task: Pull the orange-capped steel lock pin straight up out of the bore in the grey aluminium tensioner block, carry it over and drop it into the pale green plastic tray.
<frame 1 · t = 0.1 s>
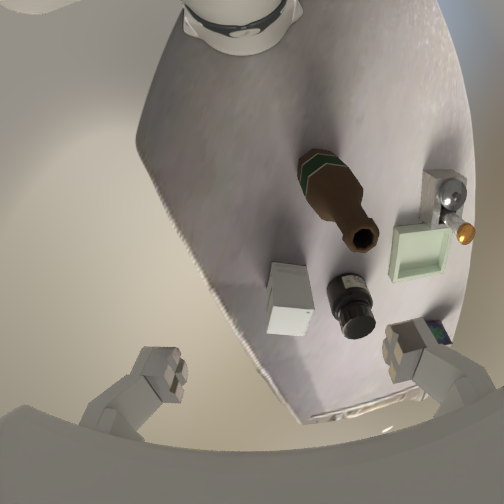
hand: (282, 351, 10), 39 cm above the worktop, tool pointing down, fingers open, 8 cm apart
tray: (418, 248, 52), on the worktop
supplement box: (285, 277, 57), on the worktop
beer bottle: (317, 168, 44), on the worktop
lock pin: (435, 205, 46), resting in tensioner block
ink bottle: (345, 287, 58), on the worktop
tensioner block: (436, 193, 45), on the worktop
flask: (427, 322, 65), on the worktop
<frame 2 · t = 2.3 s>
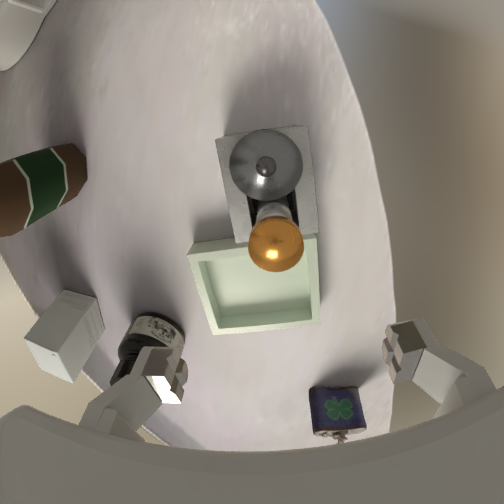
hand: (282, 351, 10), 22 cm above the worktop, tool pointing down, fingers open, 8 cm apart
tray: (259, 279, 34), on the worktop
supplement box: (84, 309, 39), on the worktop
beer bottle: (68, 169, 29), on the worktop
lock pin: (272, 198, 29), resting in tensioner block
ink bottle: (158, 331, 40), on the worktop
tensioner block: (269, 175, 28), on the worktop
flask: (333, 389, 45), on the worktop
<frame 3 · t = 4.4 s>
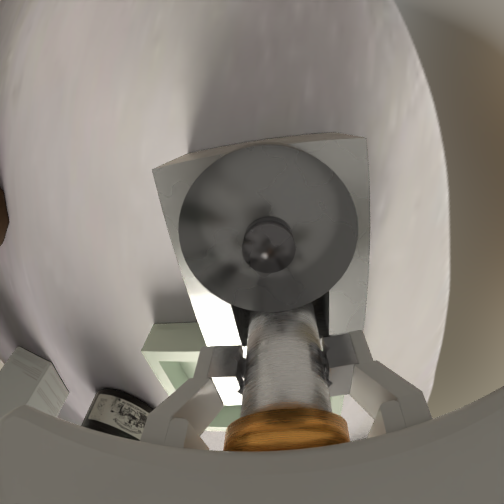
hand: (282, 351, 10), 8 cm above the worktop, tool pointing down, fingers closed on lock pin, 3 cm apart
tray: (255, 371, 22), on the worktop
supplement box: (44, 369, 27), on the worktop
lock pin: (279, 265, 17), resting in tensioner block, touching gripper
ink bottle: (129, 406, 27), on the worktop
tensioner block: (273, 227, 16), on the worktop
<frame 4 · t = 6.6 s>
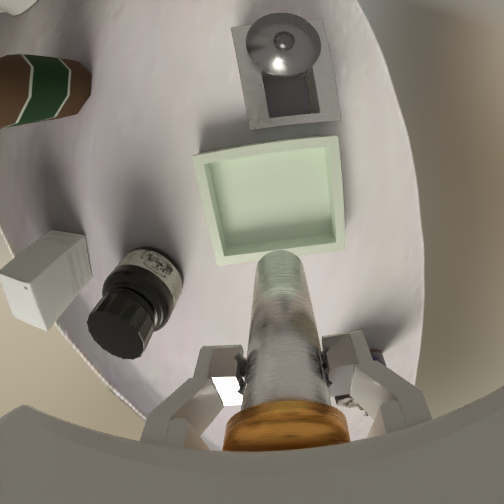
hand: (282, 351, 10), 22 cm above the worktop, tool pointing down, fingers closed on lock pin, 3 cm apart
tray: (273, 196, 29), on the worktop
supplement box: (71, 253, 34), on the worktop
beer bottle: (72, 90, 24), on the worktop
lock pin: (279, 272, 17), point 14 cm above the worktop, touching gripper
ink bottle: (153, 274, 35), on the worktop
tensioner block: (283, 78, 23), on the worktop
flask: (354, 353, 40), on the worktop
when the fingers open (9 cm above the worktop, at t = 9.1 s): lock pin stays where it is, resting on tray.
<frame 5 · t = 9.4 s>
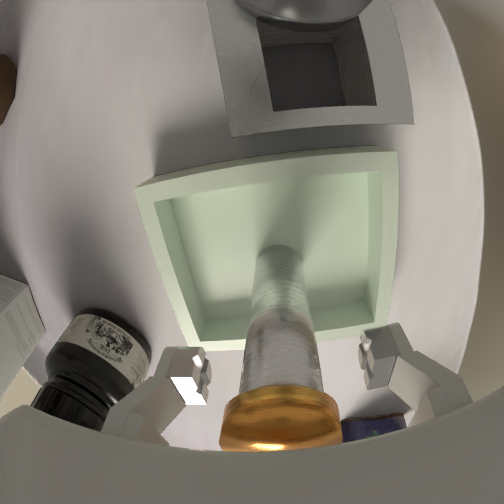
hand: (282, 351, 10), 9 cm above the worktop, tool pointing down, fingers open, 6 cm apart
tray: (277, 247, 18), on the worktop
supplement box: (20, 302, 23), on the worktop
lock pin: (278, 266, 18), point 1 cm above the worktop, touching tray
ink bottle: (112, 340, 24), on the worktop
tensioner block: (297, 46, 12), on the worktop
flask: (371, 419, 29), on the worktop
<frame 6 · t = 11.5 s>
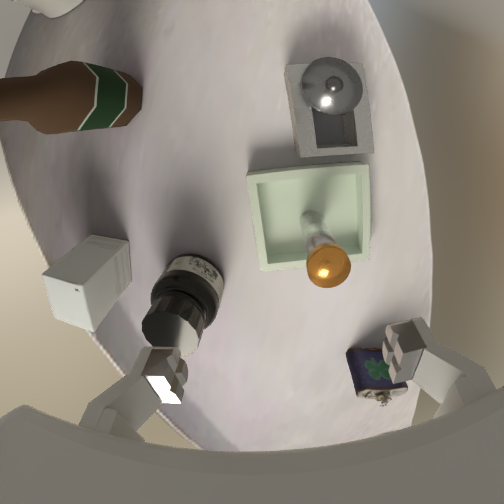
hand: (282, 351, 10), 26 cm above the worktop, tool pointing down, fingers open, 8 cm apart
tray: (310, 212, 34), on the worktop
supplement box: (111, 257, 39), on the worktop
beer bottle: (120, 101, 29), on the worktop
lock pin: (311, 221, 34), point 1 cm above the worktop, touching tray
ink bottle: (194, 279, 39), on the worktop
tensioner block: (323, 110, 28), on the worktop
flask: (369, 352, 44), on the worktop
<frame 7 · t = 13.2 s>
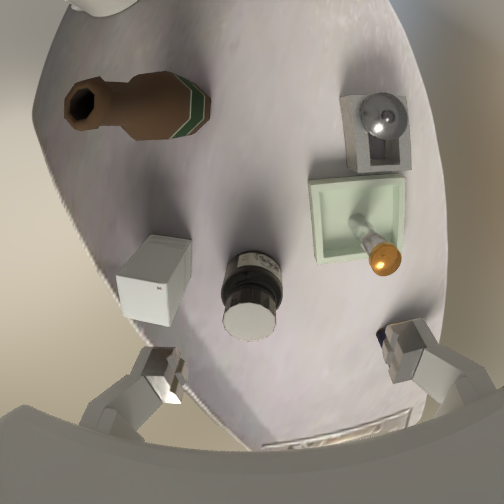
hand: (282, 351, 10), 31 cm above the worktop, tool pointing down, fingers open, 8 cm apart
tray: (356, 214, 39), on the worktop
supplement box: (171, 255, 44), on the worktop
beer bottle: (186, 109, 34), on the worktop
lock pin: (357, 222, 39), point 1 cm above the worktop, touching tray
ink bottle: (253, 273, 45), on the worktop
tensioner block: (369, 131, 33), on the worktop
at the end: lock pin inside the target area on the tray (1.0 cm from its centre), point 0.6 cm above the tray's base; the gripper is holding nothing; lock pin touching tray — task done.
